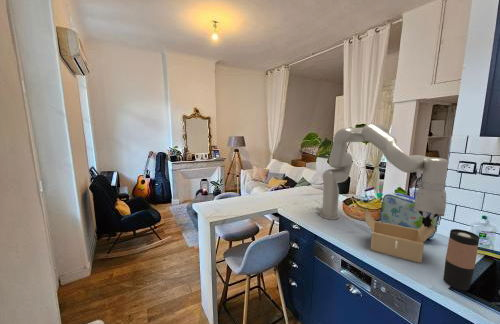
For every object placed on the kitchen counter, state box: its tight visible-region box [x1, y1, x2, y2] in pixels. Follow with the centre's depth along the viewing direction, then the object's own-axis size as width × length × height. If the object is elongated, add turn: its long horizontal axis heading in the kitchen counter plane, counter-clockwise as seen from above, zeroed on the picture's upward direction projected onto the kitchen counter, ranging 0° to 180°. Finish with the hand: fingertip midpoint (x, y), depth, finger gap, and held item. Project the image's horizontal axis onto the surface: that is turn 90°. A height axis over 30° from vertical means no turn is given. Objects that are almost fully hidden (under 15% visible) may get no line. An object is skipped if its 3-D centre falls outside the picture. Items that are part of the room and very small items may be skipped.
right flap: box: [419, 222, 435, 243], centre depth 96 cm, size 7×13×1 cm
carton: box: [369, 220, 425, 264], centre depth 102 cm, size 19×18×9 cm
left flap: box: [363, 208, 375, 232], centre depth 108 cm, size 7×13×1 cm
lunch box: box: [379, 192, 439, 240], centre depth 119 cm, size 26×11×21 cm, turn 21°
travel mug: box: [443, 228, 480, 291], centre depth 79 cm, size 8×8×20 cm
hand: (426, 225), depth 96 cm, fingers closed
